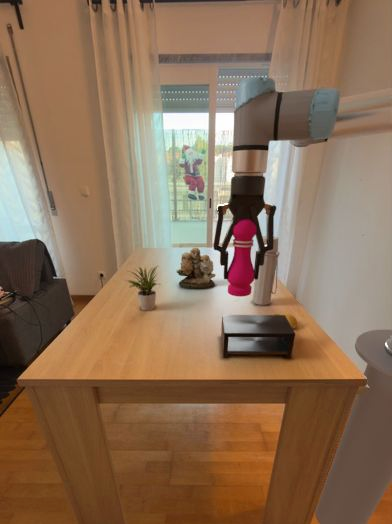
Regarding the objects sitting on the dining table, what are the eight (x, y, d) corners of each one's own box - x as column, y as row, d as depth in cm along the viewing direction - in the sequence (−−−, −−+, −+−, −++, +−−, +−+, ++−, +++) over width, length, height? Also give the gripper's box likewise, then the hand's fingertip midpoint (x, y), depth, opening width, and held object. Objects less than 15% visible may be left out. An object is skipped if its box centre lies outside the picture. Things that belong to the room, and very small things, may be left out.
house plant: (145, 297, 120) (141, 258, 112) (173, 303, 115) (171, 262, 106) (123, 309, 110) (117, 267, 101) (152, 316, 104) (148, 272, 96)
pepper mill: (258, 292, 76) (267, 210, 65) (240, 299, 72) (247, 212, 61) (238, 286, 80) (243, 208, 70) (220, 292, 76) (223, 210, 66)
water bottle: (248, 303, 114) (254, 238, 101) (258, 297, 120) (265, 235, 107) (269, 309, 109) (278, 241, 96) (278, 303, 115) (288, 237, 102)
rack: (280, 338, 90) (284, 314, 86) (290, 358, 79) (295, 333, 75) (221, 337, 90) (222, 314, 86) (223, 358, 80) (224, 333, 76)
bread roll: (300, 329, 95) (303, 318, 93) (276, 331, 93) (277, 321, 91) (288, 318, 102) (290, 308, 100) (265, 321, 100) (266, 310, 98)
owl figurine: (177, 290, 128) (175, 251, 119) (176, 282, 138) (175, 245, 130) (216, 288, 130) (217, 250, 121) (213, 280, 140) (213, 244, 131)
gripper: (290, 175, 65) (276, 273, 77) (202, 175, 66) (202, 273, 77) (299, 174, 59) (282, 282, 71) (202, 175, 59) (201, 282, 71)
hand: (240, 277), depth 74 cm, fingers closed on pepper mill, 7 cm apart
